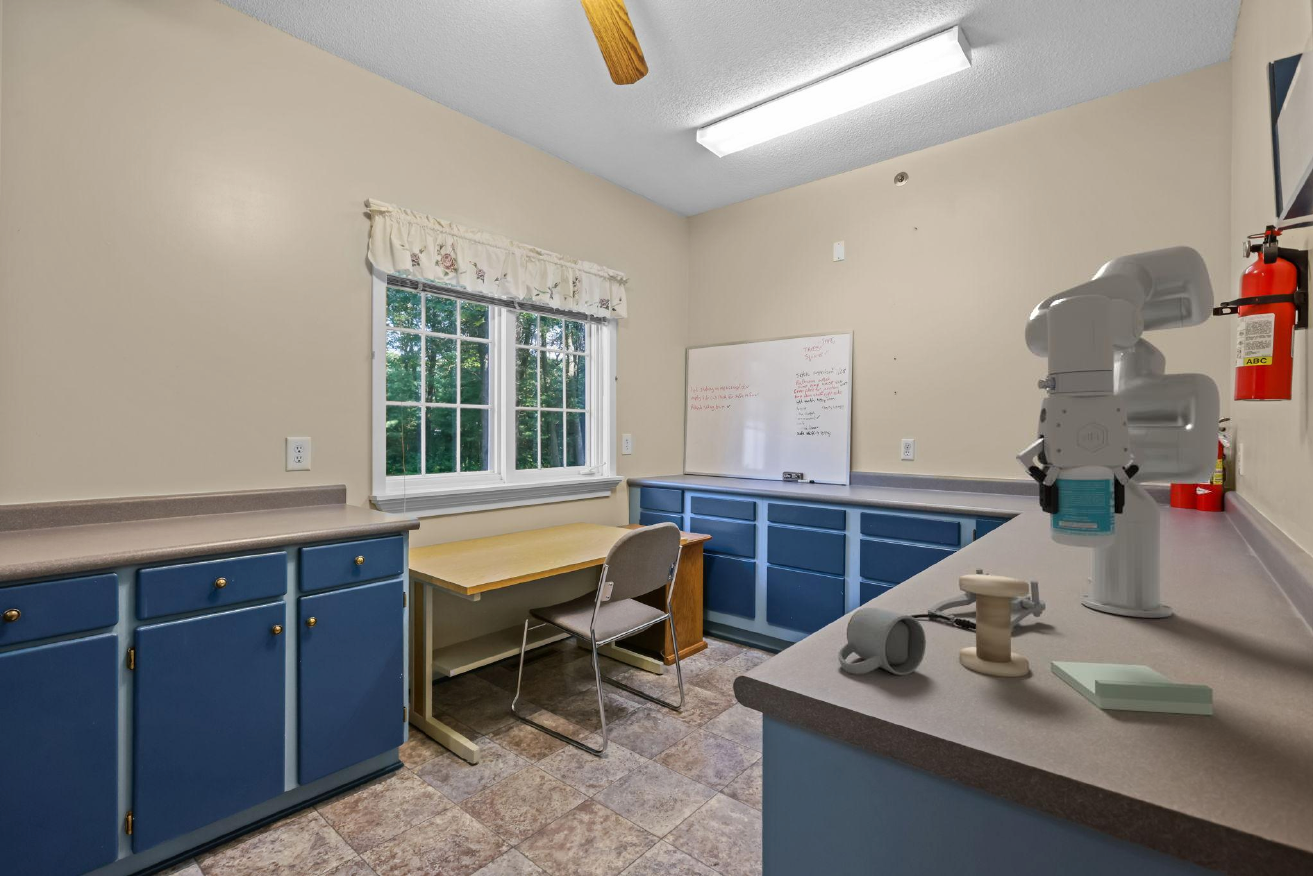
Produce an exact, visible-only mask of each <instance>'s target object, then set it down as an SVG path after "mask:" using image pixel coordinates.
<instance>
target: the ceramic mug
mask: <svg viewBox="0 0 1313 876" xmlns="http://www.w3.org/2000/svg"><path fill="white" fill-rule="evenodd" d="M846 640H847V643H846V644H844V646H843V647H841V648H840V650H839V651H838V657H837V659H838V661H839V664H840V666H841V668H842V670H843V671H845V672H847V673H848V674H850V675H851V674H852V675H863V674H866V673H870V672H872V671H874V670H877V669H878V668H879V667H880V668H881V669H883V670H885V671H887V672H890V673H891V674H894V675H896V676H907V675H909V674H912V673H914V672H915V670H917V669H918V667H919V666H920V665H921V663H922V662H923V660H924V656H925V653H926V649H927V648H926V646H927V640H926V633H925V630H924V628H923V625H922V624H921V622H920V621H919V620H918V618H914V617H911V615H907V614H905V613H904V614H903V613H900V612H899V613H898V612H894V611H889V610H885V609H882V608H878V607H864V608H861V609H859V610H857V611H855V612H854V613H853V615H852V616H851V617H850V619H849V621H848V623H847V628H846ZM852 653H855V655H857V656H858V657H860V658H861V659H863V661H860V662H855V663H854V662H853V663H848V662H847V661H846V660H847V658H848V657H849V656H850V655H851V654H852Z"/></svg>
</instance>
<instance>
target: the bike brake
mask: <svg viewBox="0 0 1313 876" xmlns="http://www.w3.org/2000/svg"><path fill="white" fill-rule="evenodd" d="M975 573H976V574H982V575H990V574H989V572H988V573H986V574H984V572H983V568H976V569H975ZM959 590H960V591H963V592H964V594H961V595H958V596H955V597H952V598H948V599H946V600H943V601H941V602H938V603H936V604H934V605H933V606H932V607H930V608H928V609H927V613H920V614H911V615H910V616H911V617H914V618H915V619H923V618H925V619H926V618H929V619H932V620H935V621H939V622H941V623H945V624H948V625H954V624H955V626H957V627H961V628H965V629H968V630H969V629H970V630H976V622H972V621H970V620H969V619H961V618H955V616H954V615H953V614H949V613H946V612H944V611H946V610H948V609H952V608H958V607H965V606H970V605H971V604H973V603H976V593H973V592H969V591H966V590H964V589H962V588H960V587H959ZM1030 592H1031V593H1030V594H1031V596H1030V595H1025V596H1020V597H1011V629H1012V628H1014V627H1016V626H1017V625H1018V624H1019V623H1020V622H1022V620H1023V619H1026V618H1027V617H1029V616H1030V615H1031V614H1032V615H1033V617H1035V618H1040V617H1041V615H1042V614H1043V612H1044V611H1046V601H1044V600H1043V599H1040V594H1039V593H1040V591H1039V582H1038V580H1036V579H1035V580H1033V579H1032V580H1030Z"/></svg>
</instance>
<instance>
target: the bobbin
mask: <svg viewBox="0 0 1313 876" xmlns="http://www.w3.org/2000/svg"><path fill="white" fill-rule="evenodd" d="M958 585H959V589H960V588H962V589H964V590H966V591H969V592H973V593H976V602H975V623H976V629H975V646H969V647H964V648H962V649H960V650H959V653H958V654H959V655H958V656H959V657H958V658H959V662H960V664H961V665H962V666H964V667H965V668H967V669H969V670H972V671H974V672H978V673H981V674H984V675H989V676H995V677H1003V678H1016V677H1022V676H1026V675H1028V674H1029V673H1030V661H1029V660H1028V659H1027V658H1025V657H1024V656H1022V655H1020V654H1018V653H1015V652H1013V651H1012V628H1011V597H1018V598H1020V597H1022V596H1025V595H1027V596H1029V594H1030V593H1029V592H1030V591H1029V590H1030V585H1029V583H1028V582H1026V581H1025V580H1021V579H1019V578H1018V579H1017V578H1013V577H1010V576H1009V577H1008V576H1004V575H1003V576H1002V575H993V574H989V575H985V574H983V575H982V574H973V573H972V574H965V575H962V576H959V578H958Z"/></svg>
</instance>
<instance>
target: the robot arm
mask: <svg viewBox="0 0 1313 876" xmlns="http://www.w3.org/2000/svg"><path fill="white" fill-rule="evenodd" d="M1207 268H1208V267H1207V265H1206V262H1205V260H1204V258H1203V256H1202V255H1201V254H1200V253H1199V251H1197V250H1196V249H1195V248H1192V247H1190V246H1185V245H1179V246H1177V245H1176V246H1172V247H1167V248H1166V247H1165V248H1161V249H1160V248H1159V249H1155V250H1150V251H1149V250H1148V251H1144V252H1138V253H1133V254H1128V255H1127V254H1126V255H1122V256H1119V257H1116V258H1114V259H1111V260H1109V261H1108V262H1106V263H1104V264H1103V265H1102V266H1101V268H1100V269H1099V270H1098V271H1097V273H1096V274H1095V275H1094V276H1093V277H1092V279H1091V280H1088V281H1086V282H1083V283H1081V284H1078V285H1076V286H1074V287H1071V288H1068V289H1067V290H1064V291H1061V292H1059V293H1056V294H1054V295H1052V296H1049V297H1047V298H1046V299H1043V300H1042V301H1041V302H1040V303H1039V304H1038V305H1037V306H1036V307H1035V308H1034V309H1033V311H1032V312H1031V313H1030V316H1029V317H1028V319H1027V322H1026V324H1025V330H1024V340H1025V343H1026V347H1027V348H1028V350H1029V351H1030V353H1032V354H1033V355H1034V356H1037V357H1040V358H1047V375H1046V378H1044V379H1039V380H1038V381H1037V387H1038V389H1039V390H1046V394H1048V395H1047V396H1048V397H1043V398H1042V399H1043V400H1042V403H1041V408H1040V413H1039V418H1038V425H1037V435H1036V439H1037V440H1036V441H1035V442H1033V443H1032V444H1031V445H1029V446H1028V447H1026V448H1025V449H1024V450H1023V451H1021V452H1020V453H1018V454H1017V455H1016V456H1015V458H1016V461H1017V462H1018V463H1019V465H1020V466H1021V467H1022V469H1024V470H1025V473H1027V474H1028V475H1029V476H1030V477H1031V478H1032V479H1034V481H1035V483H1037V484H1038V489H1039V490H1038V492H1039V493H1038V494H1039V495H1038V496H1039V502H1038V503H1039V506H1040V507H1041V510H1042V512H1043V513H1047V514H1049V515H1050V514H1057V513H1058V487H1057V486H1056V485H1054V481H1055V479H1056V478H1057V476H1058V474H1059V473H1060V471H1061V469H1062V468H1076V467H1082V466H1104V467H1108V468H1112V470H1113V472H1114V510H1115V542H1114V544H1113V545H1111V546H1108V547H1090V575H1091V576H1089V577H1088V578H1087V580H1086V581H1087V584H1089V585H1090V592H1085V593H1082V594H1081V595H1080V603H1081V604H1083V605H1084V606H1086V607H1088V608H1090V609H1093V610H1096V611H1100V612H1105V613H1109V614H1115V615H1119V616H1127V617H1134V618H1149V619H1150V618H1151V619H1158V618H1166V617H1170V616H1172V615H1173V607H1172V606H1171V605H1170V604H1168V603H1166V602H1163V601H1161V510H1160V507H1159V505H1158V504H1157V501H1156V500H1155V499H1154V498H1153V497H1152V495H1150V494H1149V493H1148V492H1147V491H1146V490H1145V489H1144V488H1143V487H1142V486H1141V484H1143V483H1158V484H1161V483H1162V484H1179V485H1180V484H1185V485H1186V484H1187V485H1189V484H1190V485H1191V484H1202V483H1206V482H1207V481H1209V480H1211V479H1212V478H1213V477H1214V475H1215V473H1216V469H1217V467H1218V466H1217V464H1218V456H1219V455H1218V454H1219V439H1220V438H1219V436H1220V435H1219V434H1220V433H1219V432H1220V414H1221V412H1220V411H1221V409H1220V408H1221V406H1220V405H1221V404H1220V402H1221V401H1220V400H1221V399H1220V393H1219V389H1218V386H1217V384H1216V381H1214V379H1213V378H1212V377H1210V376H1208V375H1207V374H1203V373H1196V372H1187V373H1184V372H1183V373H1169V374H1166V372H1165V371H1166V363H1167V361H1166V356H1165V355H1164V353H1163V352H1162V351H1160V350H1159V348H1158V347H1156V346H1155V345H1154V344H1153V343H1151V342H1150V341H1148V340H1146V339H1144V338H1142V335H1143V333H1144V332H1151V331H1160V330H1170V329H1171V330H1172V329H1181V328H1190V327H1195V326H1196V327H1197V326H1199V325H1202V324H1204V323H1205V322H1206V321H1208V320H1209V318H1210V317H1211V315H1212V313H1213V311H1214V305H1215V296H1214V290H1213V287H1212V283H1211V279H1210V275H1209V272H1208V269H1207ZM1035 457H1036V458H1037V462H1038V463H1039V464H1040V465H1042V466H1041V467H1039V466H1038V465H1036V464H1035V462H1034V458H1035Z"/></svg>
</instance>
